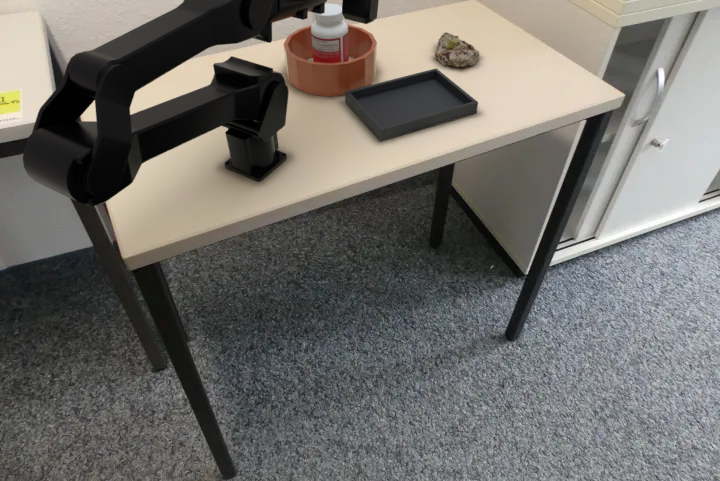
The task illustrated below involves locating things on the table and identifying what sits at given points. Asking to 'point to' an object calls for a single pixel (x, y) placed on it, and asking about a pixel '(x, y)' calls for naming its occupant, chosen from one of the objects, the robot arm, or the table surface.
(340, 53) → the pill bottle
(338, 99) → the table surface
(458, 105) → the tray
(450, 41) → the mineral rock
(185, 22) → the robot arm
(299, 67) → the pot
